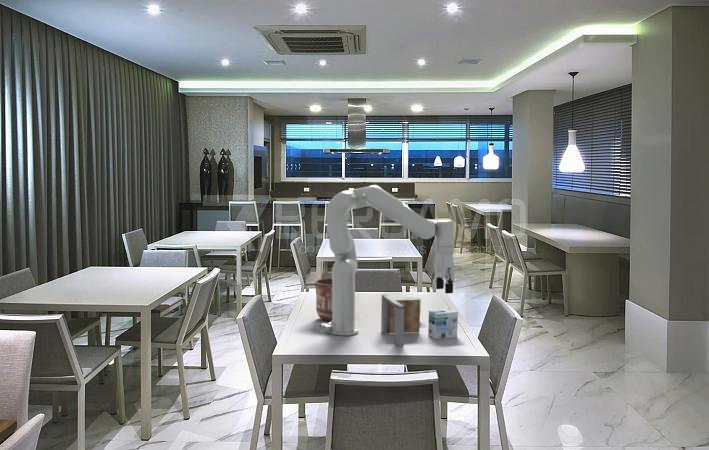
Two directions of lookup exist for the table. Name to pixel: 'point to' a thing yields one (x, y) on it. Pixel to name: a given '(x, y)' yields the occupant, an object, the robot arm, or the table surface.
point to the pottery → (324, 299)
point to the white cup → (413, 299)
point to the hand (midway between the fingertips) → (444, 290)
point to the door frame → (398, 319)
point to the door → (405, 316)
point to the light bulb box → (443, 323)
